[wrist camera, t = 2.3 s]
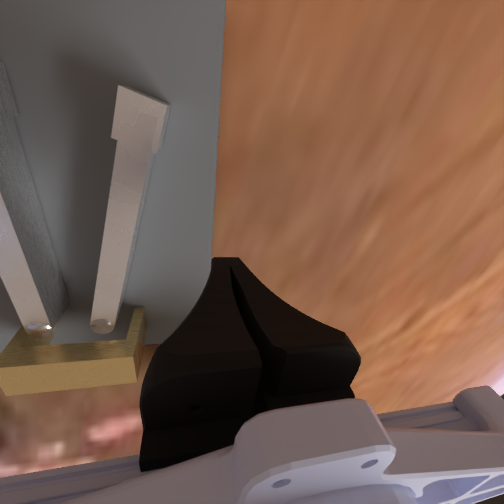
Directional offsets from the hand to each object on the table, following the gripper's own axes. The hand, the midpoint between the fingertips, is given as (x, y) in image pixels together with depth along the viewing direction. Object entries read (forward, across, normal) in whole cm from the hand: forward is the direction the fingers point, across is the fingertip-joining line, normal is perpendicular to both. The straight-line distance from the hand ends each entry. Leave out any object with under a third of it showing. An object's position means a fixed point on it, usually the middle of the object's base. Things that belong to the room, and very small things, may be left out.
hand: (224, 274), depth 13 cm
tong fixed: (+8, +12, +1) cm, 14 cm away
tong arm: (+8, +6, +1) cm, 10 cm away
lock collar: (+8, +10, +10) cm, 17 cm away
